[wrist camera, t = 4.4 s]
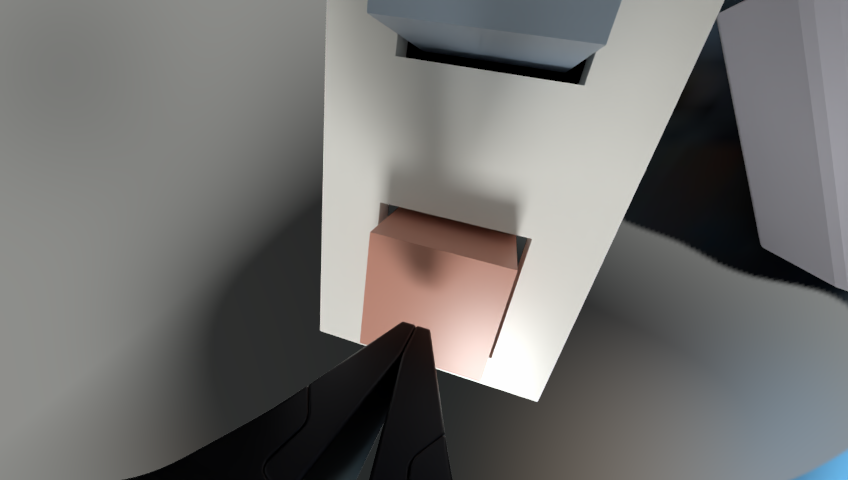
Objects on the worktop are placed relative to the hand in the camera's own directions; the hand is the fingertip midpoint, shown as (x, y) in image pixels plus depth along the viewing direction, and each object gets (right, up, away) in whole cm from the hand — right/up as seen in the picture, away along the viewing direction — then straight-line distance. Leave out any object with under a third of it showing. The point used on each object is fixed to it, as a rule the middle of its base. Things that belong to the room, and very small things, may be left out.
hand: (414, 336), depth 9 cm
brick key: (+2, +2, +5) cm, 6 cm away
